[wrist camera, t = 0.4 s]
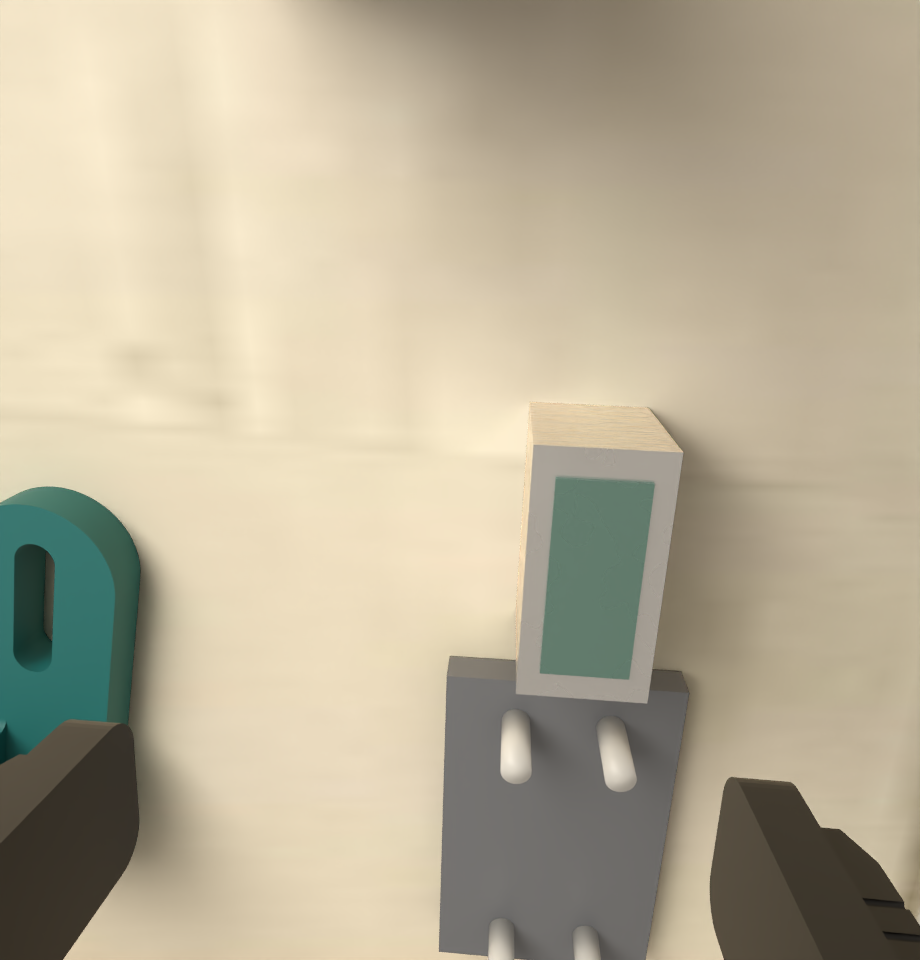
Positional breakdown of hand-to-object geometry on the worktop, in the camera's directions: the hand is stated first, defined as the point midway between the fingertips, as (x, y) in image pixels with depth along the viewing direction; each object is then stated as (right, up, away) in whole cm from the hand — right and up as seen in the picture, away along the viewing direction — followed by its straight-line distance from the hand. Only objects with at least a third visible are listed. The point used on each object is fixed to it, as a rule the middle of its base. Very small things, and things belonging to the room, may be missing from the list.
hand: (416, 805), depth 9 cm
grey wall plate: (+5, -11, +24) cm, 27 cm away
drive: (+5, +3, +19) cm, 20 cm away
